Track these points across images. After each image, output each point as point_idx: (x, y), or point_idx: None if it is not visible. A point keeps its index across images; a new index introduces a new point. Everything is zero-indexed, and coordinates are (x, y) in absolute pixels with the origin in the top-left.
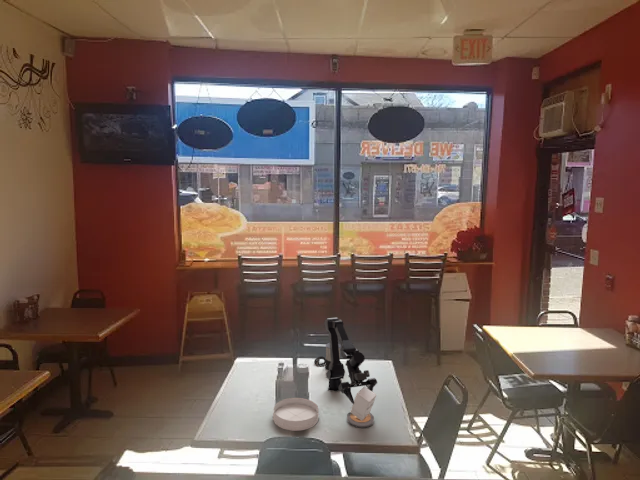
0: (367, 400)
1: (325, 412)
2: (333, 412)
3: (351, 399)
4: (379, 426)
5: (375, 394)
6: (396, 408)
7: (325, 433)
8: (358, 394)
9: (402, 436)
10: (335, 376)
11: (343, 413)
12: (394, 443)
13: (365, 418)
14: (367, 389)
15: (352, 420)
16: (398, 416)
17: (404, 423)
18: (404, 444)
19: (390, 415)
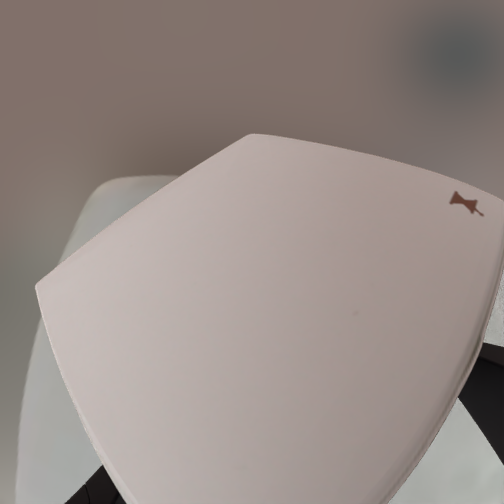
0: (276, 136)
1: (497, 480)
2: (459, 495)
3: (494, 349)
4: None
5: (48, 284)
6: (32, 487)
7: None
8: (474, 189)
9: (101, 229)
10: None
11: (403, 500)
12: (163, 181)
13: None
14: (153, 447)
15: None
16: (40, 413)
17: (40, 338)
18: (126, 177)
19: (73, 439)
